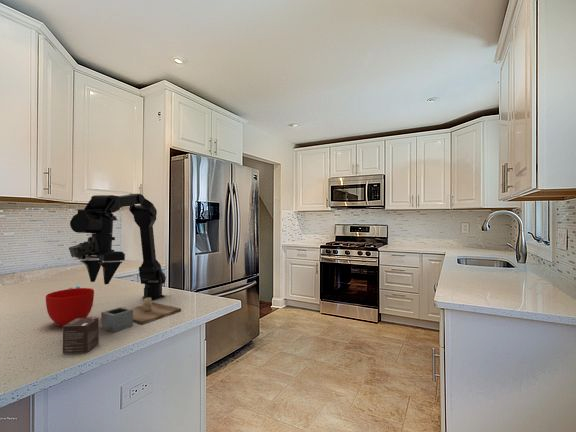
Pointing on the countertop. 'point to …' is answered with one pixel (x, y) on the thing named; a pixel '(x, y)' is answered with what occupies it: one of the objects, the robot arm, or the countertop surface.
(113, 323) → the square tube
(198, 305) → the countertop surface
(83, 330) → the box
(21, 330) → the countertop surface
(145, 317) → the post base
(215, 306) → the countertop surface
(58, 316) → the ceramic cup
